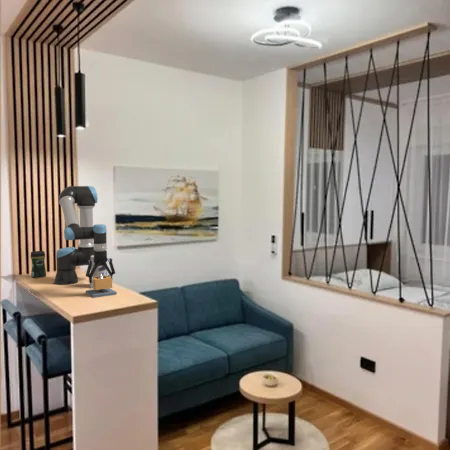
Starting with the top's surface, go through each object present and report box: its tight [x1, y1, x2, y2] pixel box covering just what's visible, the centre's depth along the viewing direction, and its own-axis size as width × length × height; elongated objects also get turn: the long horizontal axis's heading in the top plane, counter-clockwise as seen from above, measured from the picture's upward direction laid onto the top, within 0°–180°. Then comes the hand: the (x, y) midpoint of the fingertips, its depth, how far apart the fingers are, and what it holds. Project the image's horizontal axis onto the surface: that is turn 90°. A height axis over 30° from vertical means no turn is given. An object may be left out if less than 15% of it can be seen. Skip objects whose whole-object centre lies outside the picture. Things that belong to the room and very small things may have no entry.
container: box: [90, 255, 108, 277], centre depth 275 cm, size 10×10×20 cm
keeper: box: [85, 274, 118, 299], centre depth 256 cm, size 14×14×12 cm
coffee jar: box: [30, 250, 47, 278], centre depth 304 cm, size 10×8×19 cm
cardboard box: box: [89, 274, 113, 290], centre depth 256 cm, size 10×10×6 cm
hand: (101, 287), depth 256 cm, fingers closed on cardboard box, 10 cm apart
